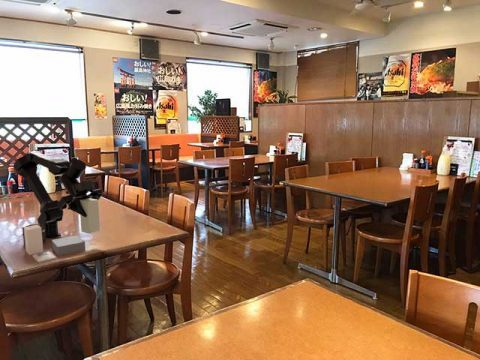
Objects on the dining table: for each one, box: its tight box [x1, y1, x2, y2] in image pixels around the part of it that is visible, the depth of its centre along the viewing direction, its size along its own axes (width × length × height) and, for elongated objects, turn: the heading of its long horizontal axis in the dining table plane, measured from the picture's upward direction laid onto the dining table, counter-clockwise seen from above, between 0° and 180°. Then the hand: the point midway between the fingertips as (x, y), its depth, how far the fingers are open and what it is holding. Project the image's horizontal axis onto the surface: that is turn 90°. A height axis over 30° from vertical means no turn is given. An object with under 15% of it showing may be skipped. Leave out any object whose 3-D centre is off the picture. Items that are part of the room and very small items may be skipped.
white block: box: [23, 225, 44, 256], centre depth 150 cm, size 5×5×10 cm
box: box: [22, 223, 47, 245], centre depth 161 cm, size 6×6×7 cm
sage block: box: [79, 198, 101, 234], centre depth 155 cm, size 5×5×13 cm
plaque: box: [31, 251, 56, 264], centre depth 144 cm, size 8×6×1 cm
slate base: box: [51, 235, 86, 257], centre depth 153 cm, size 10×10×4 cm
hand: (91, 215), depth 154 cm, fingers closed on sage block, 5 cm apart
